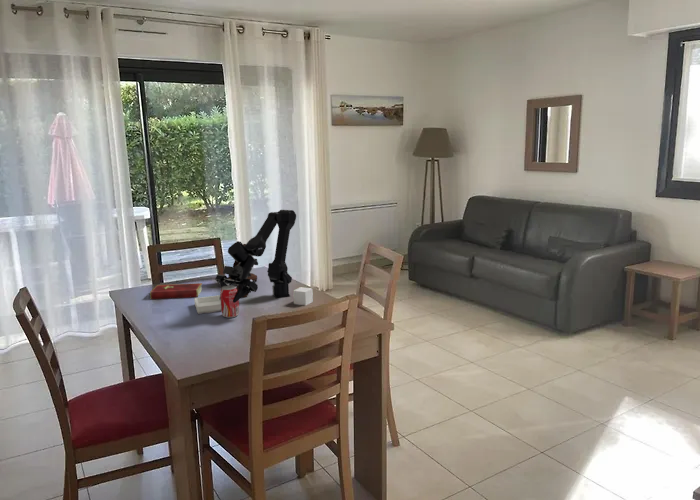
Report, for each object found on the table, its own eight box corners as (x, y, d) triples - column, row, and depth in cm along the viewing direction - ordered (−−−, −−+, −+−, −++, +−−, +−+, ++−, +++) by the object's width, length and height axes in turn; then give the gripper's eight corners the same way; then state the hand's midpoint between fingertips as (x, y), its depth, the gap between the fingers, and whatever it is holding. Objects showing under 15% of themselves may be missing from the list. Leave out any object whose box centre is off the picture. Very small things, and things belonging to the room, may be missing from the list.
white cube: (312, 301, 232) (312, 288, 231) (305, 305, 227) (305, 292, 226) (301, 300, 235) (300, 287, 234) (293, 304, 229) (293, 290, 228)
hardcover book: (197, 298, 243) (197, 289, 242) (150, 300, 241) (149, 291, 240) (202, 291, 254) (202, 282, 253) (157, 293, 253) (156, 284, 252)
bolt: (243, 292, 255) (245, 300, 241) (233, 288, 254) (234, 296, 239) (248, 282, 255) (250, 289, 241) (238, 277, 254) (240, 284, 239)
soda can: (223, 313, 218) (221, 285, 216) (240, 312, 219) (238, 284, 216) (220, 319, 211) (218, 289, 209) (238, 318, 212) (236, 289, 209)
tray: (232, 300, 237) (231, 293, 236) (237, 309, 224) (236, 302, 223) (194, 304, 231) (194, 298, 230) (198, 314, 218) (197, 307, 217)
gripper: (216, 255, 218) (198, 287, 211) (251, 259, 209) (233, 293, 202) (231, 270, 227) (214, 301, 220) (265, 274, 217) (248, 308, 210)
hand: (227, 301), depth 213 cm, fingers closed on soda can, 7 cm apart
